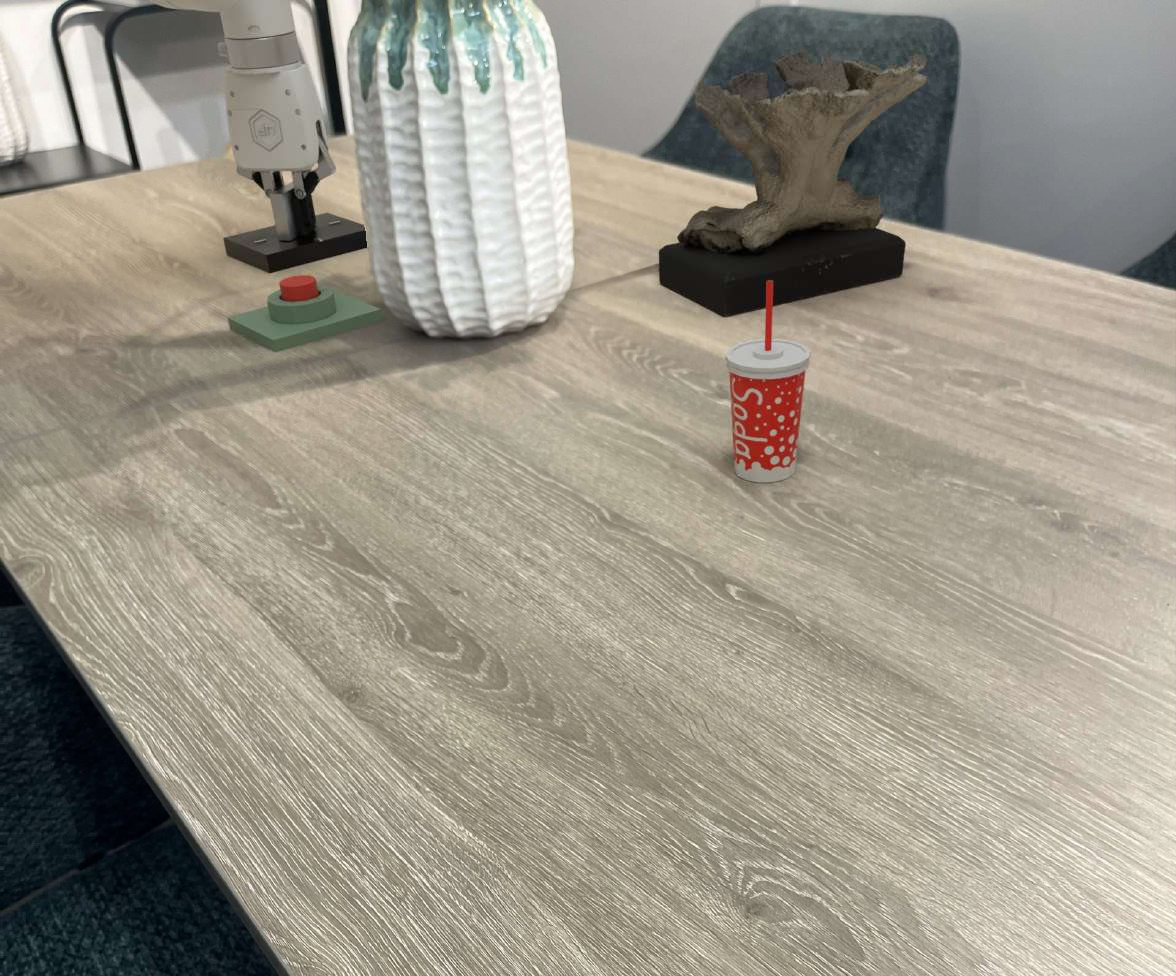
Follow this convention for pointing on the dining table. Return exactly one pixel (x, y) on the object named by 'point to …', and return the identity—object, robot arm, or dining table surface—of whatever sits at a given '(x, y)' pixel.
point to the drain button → (298, 288)
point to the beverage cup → (766, 402)
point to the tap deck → (297, 244)
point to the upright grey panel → (284, 212)
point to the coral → (791, 188)
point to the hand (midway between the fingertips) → (297, 231)
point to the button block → (303, 319)
